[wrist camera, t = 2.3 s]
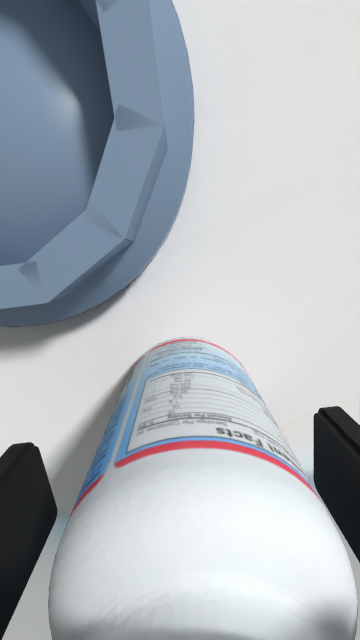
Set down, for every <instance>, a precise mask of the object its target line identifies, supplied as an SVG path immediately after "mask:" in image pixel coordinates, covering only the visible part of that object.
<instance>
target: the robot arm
mask: <svg viewBox="0 0 360 640" xmlns="http://www.w3.org/2000/svg"><path fill="white" fill-rule="evenodd" d="M314 483H315V486H316V489H317V491H318V493H319V495H320V496H321V498H322V499H323V501H324V503H325V505H326V507H327V508H328V510H329V512H330V513H331V515H332V517H333V518H334V520H335V522H336V523H337V525H338V526H339V528H340V530H341V532H342V533H343V535H344V537H345V539H346V540H347V542H348V544H349V545H350V547H351V549H352V550H353V552H354V554H355V555H356V557H357V559H358V560H359V562H360V425H359V424H358V423H357V422H355V421H354V420H353V419H352V418H351V417H350V416H349V415H348V414H347V413H346V412H345V411H344V410H343V409H342V408H340V407H338V406H334V407H326V408H320V409H319V411H318V413H316V414H314ZM56 517H57V506H56V503H55V500H54V496H53V493H52V490H51V487H50V483H49V480H48V477H47V474H46V470H45V467H44V464H43V460H42V457H41V454H40V451H39V448H38V447H37V446H34V444H33V443H31V442H28V443H20V444H13V445H11V446H10V447H9V448H8V449H7V450H6V452H5V453H4V454H3V455H2V456H1V457H0V640H2V637H3V635H4V633H5V630H6V629H7V626H8V624H9V622H10V620H11V618H12V615H13V613H14V611H15V609H16V607H17V604H18V602H19V600H20V598H21V596H22V593H23V591H24V589H25V587H26V584H27V582H28V580H29V578H30V576H31V574H32V571H33V569H34V567H35V565H36V563H37V560H38V558H39V556H40V554H41V551H42V549H43V547H44V545H45V543H46V540H47V538H48V536H49V534H50V531H51V529H52V527H53V525H54V523H55V520H56Z"/></svg>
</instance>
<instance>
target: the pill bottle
mask: <svg viewBox="0 0 360 640" xmlns="http://www.w3.org/2000/svg"><path fill="white" fill-rule="evenodd" d="M48 608H49V622H50V630H51V634H52V640H354V639H355V635H356V627H357V615H358V607H357V593H356V587H355V580H354V576H353V572H352V568H351V564H350V561H349V558H348V555H347V552H346V549H345V546H344V544H343V542H342V540H341V538H340V536H339V534H338V532H337V530H336V528H335V526H334V524H333V523H332V521H331V519H330V517H329V515H328V513H327V511H326V509H325V507H324V506H323V504H322V502H321V501H320V499H319V497H318V495H317V493H316V492H315V490H314V488H313V486H312V485H311V483H310V482H309V480H308V478H307V476H306V474H305V473H304V471H303V469H302V467H301V466H300V464H299V462H298V460H297V459H296V457H295V455H294V453H293V452H292V450H291V448H290V446H289V445H288V443H287V441H286V440H285V438H284V436H283V434H282V433H281V431H280V429H279V428H278V426H277V424H276V422H275V420H274V419H273V417H272V415H271V413H270V411H269V410H268V408H267V407H266V405H265V403H264V401H263V400H262V398H261V396H260V394H259V393H258V391H257V389H256V387H255V386H254V384H253V382H252V380H251V378H250V377H249V375H248V373H247V372H246V370H245V369H244V367H243V366H242V364H241V363H240V362H239V361H238V359H237V358H236V357H235V356H234V355H232V354H231V353H230V352H229V351H228V350H226V349H225V348H223V347H222V346H220V345H218V344H216V343H214V342H211V341H209V340H206V339H202V338H196V337H180V338H174V339H170V340H167V341H164V342H162V343H159V344H158V345H156V346H154V347H153V348H151V349H150V350H148V351H147V352H146V353H145V354H144V355H142V356H141V358H140V359H139V360H138V361H137V362H136V364H135V365H134V367H133V368H132V370H131V372H130V374H129V376H128V378H127V381H126V383H125V386H124V388H123V390H122V393H121V395H120V398H119V400H118V402H117V405H116V407H115V410H114V412H113V414H112V417H111V419H110V421H109V424H108V426H107V429H106V431H105V433H104V436H103V438H102V441H101V443H100V446H99V448H98V450H97V453H96V455H95V458H94V460H93V462H92V465H91V467H90V470H89V472H88V474H87V477H86V479H85V482H84V484H83V487H82V489H81V491H80V494H79V496H78V499H77V501H76V504H75V506H74V509H73V511H72V513H71V515H70V518H69V520H68V523H67V525H66V528H65V531H64V534H63V536H62V539H61V541H60V544H59V547H58V550H57V553H56V556H55V560H54V565H53V568H52V573H51V579H50V586H49V600H48Z"/></svg>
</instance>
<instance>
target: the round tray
mask: <svg viewBox="0 0 360 640" xmlns="http://www.w3.org/2000/svg"><path fill="white" fill-rule="evenodd" d="M193 133H194V99H193V84H192V77H191V71H190V64H189V58H188V52H187V48H186V44H185V40H184V37H183V33H182V29H181V25H180V22H179V18H178V15H177V12H176V10H175V7H174V5H173V2H172V0H0V326H7V327H20V326H36V325H41V324H47V323H52V322H57V321H60V320H63V319H66V318H69V317H72V316H75V315H78V314H81V313H83V312H85V311H87V310H89V309H91V308H93V307H95V306H97V305H99V304H101V303H102V302H104V301H105V300H107V299H109V298H110V297H111V296H113V295H114V294H116V293H117V292H119V291H120V290H122V289H123V288H125V287H126V286H127V285H128V284H129V283H130V282H131V281H132V280H134V279H135V278H136V277H137V276H138V275H139V274H140V273H141V272H142V271H143V270H144V269H145V267H146V266H147V265H148V264H149V263H150V261H151V260H152V259H153V258H154V257H155V255H156V254H157V252H158V251H159V249H160V248H161V246H162V244H163V243H164V241H165V240H166V238H167V237H168V235H169V232H170V230H171V228H172V226H173V224H174V222H175V220H176V217H177V215H178V213H179V210H180V206H181V203H182V200H183V197H184V194H185V191H186V186H187V181H188V176H189V171H190V166H191V158H192V146H193Z"/></svg>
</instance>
